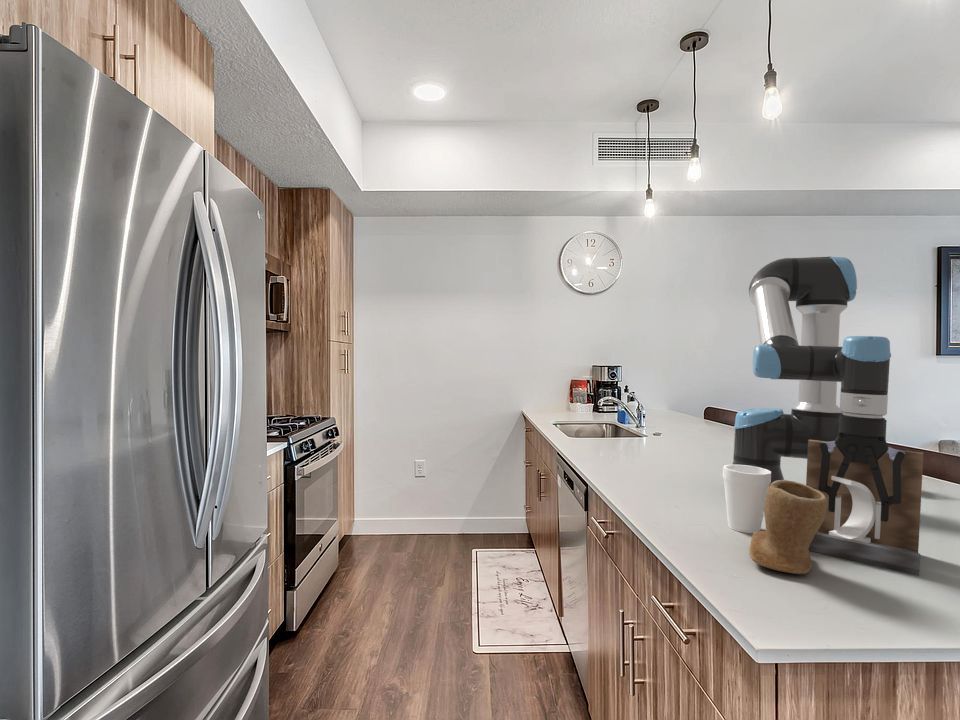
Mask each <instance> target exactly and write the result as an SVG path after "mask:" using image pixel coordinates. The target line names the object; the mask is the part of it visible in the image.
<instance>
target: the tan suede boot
mask: <svg viewBox="0 0 960 720" xmlns="http://www.w3.org/2000/svg"><path fill="white" fill-rule="evenodd" d="M827 504H828V503H827V498H826V497H825V495H824V494H823V493H821V492H820V491H818V490H816V489H813V488H812V487H810V486H807V485H806V484H804V483H802V482H801V483H800V482H798V481H793V480H787V479H784V480H777V481H774V482H773V483H771V485H770V486H769V488H768V491H767V495H766V501H765V507H764V514H763V516H764V520H765V521H764V522H765V530H760V531H758V532H755V533H752V535H751V539H750V545H749V548H748V549H749V551H748V552H749V557H750V559H751V561H753V562H754V563H755V564H757V565H759V566H760V567H764V568H767V569H771V570H774V571H777V572H782V573H787V574H797V575H804V574H807V573H808V572H810V569H811V568H812V557H811V554H810V551H809V550H808V548H809V546H810V544H811V542H812V540H813V538H814V536H815V534H816V533H817V531H818V529H819V528H820V526H821V524H822V523H823V521H824V518H825V515H826V509H827Z"/></svg>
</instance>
